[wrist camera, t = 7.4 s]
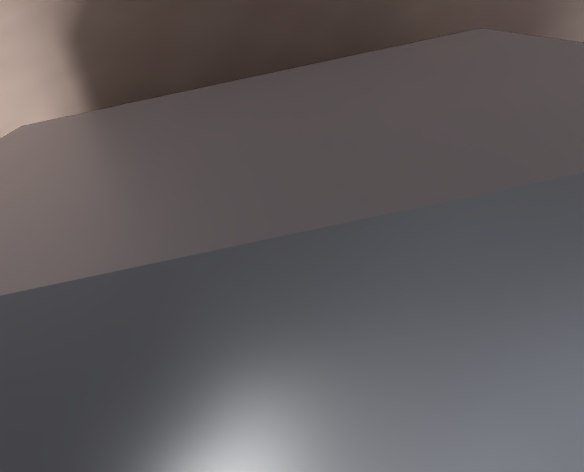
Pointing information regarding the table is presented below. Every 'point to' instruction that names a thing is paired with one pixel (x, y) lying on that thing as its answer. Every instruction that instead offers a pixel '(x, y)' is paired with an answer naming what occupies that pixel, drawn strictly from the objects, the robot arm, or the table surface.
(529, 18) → the table surface
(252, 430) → the slate gray cube
